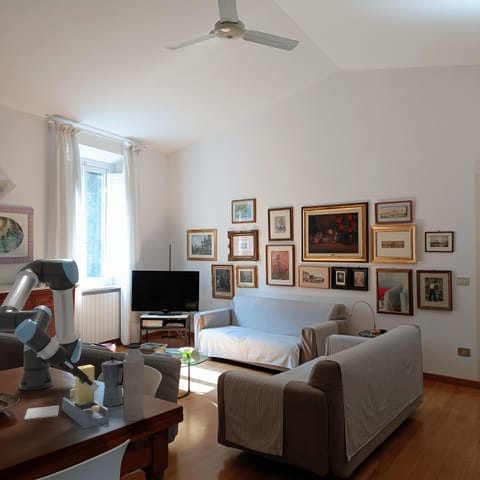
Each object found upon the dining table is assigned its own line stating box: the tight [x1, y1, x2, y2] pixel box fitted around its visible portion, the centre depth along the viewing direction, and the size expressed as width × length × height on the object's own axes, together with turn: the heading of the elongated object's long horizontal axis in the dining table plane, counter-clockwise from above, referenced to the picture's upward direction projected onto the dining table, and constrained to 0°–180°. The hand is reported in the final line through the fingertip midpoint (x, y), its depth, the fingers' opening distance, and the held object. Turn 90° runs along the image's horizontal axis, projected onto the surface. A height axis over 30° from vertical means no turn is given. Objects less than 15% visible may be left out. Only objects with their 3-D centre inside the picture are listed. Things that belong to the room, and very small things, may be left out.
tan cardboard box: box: [74, 364, 95, 405], centre depth 171 cm, size 4×6×14 cm, turn 130°
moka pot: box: [100, 356, 123, 407], centre depth 185 cm, size 10×15×20 cm, turn 55°
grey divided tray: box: [62, 388, 110, 429], centre depth 171 cm, size 25×9×8 cm, turn 40°
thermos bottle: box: [122, 344, 145, 422], centre depth 170 cm, size 8×8×28 cm
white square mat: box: [23, 405, 60, 421], centre depth 174 cm, size 12×12×1 cm
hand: (94, 387), depth 173 cm, fingers closed on tan cardboard box, 4 cm apart
